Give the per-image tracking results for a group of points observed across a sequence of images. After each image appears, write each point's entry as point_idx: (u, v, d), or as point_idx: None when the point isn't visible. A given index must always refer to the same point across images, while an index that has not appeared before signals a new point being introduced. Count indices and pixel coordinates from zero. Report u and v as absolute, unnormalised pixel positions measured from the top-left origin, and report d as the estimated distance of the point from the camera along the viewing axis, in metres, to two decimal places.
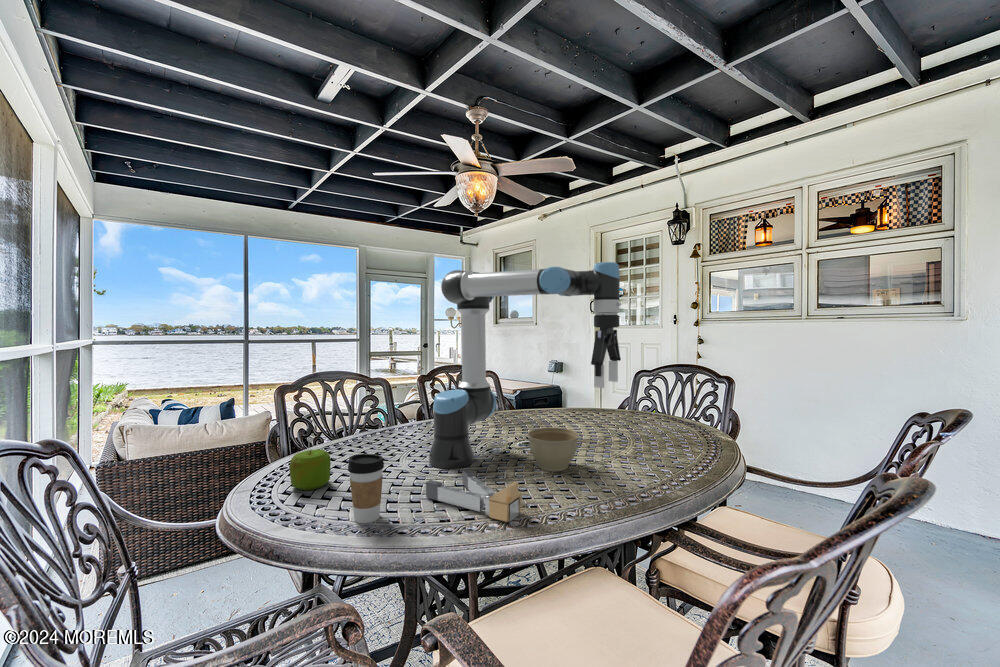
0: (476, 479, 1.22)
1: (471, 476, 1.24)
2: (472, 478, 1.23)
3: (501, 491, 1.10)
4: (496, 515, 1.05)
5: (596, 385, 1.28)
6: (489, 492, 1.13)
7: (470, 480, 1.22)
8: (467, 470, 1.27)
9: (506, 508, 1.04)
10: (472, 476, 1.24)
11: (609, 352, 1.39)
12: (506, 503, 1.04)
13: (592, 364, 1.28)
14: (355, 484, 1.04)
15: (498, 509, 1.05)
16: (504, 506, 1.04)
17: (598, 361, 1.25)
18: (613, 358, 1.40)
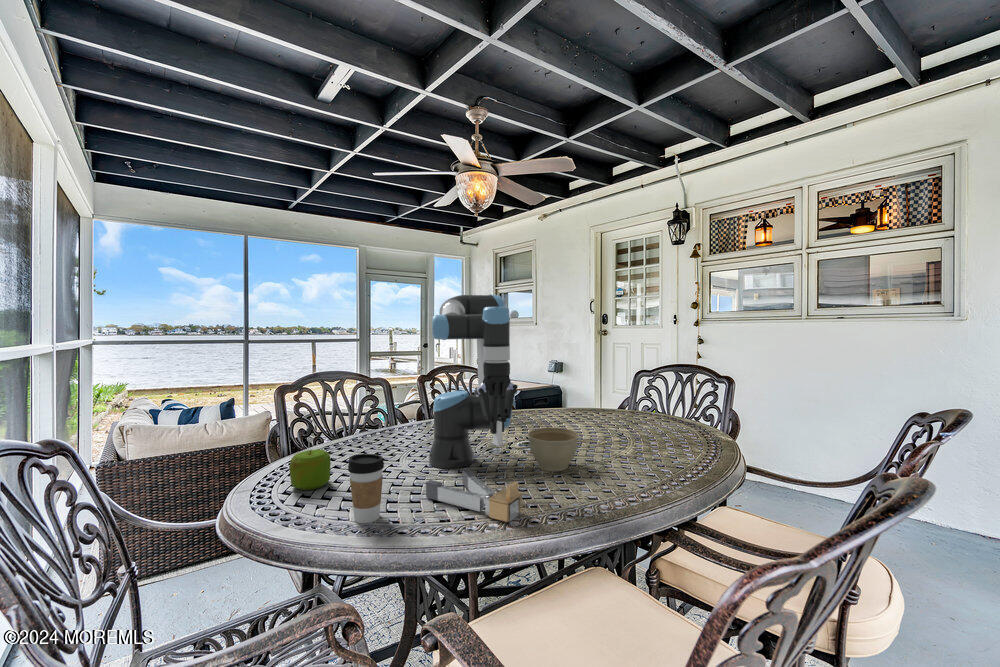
0: (476, 479, 1.22)
1: (471, 476, 1.24)
2: (472, 478, 1.23)
3: (501, 491, 1.10)
4: (496, 515, 1.05)
5: None
6: (489, 492, 1.13)
7: (470, 480, 1.22)
8: (467, 470, 1.27)
9: (506, 508, 1.04)
10: (472, 476, 1.24)
11: None
12: (506, 503, 1.04)
13: (504, 421, 1.24)
14: (355, 484, 1.04)
15: (498, 509, 1.05)
16: (504, 506, 1.04)
17: None
18: None
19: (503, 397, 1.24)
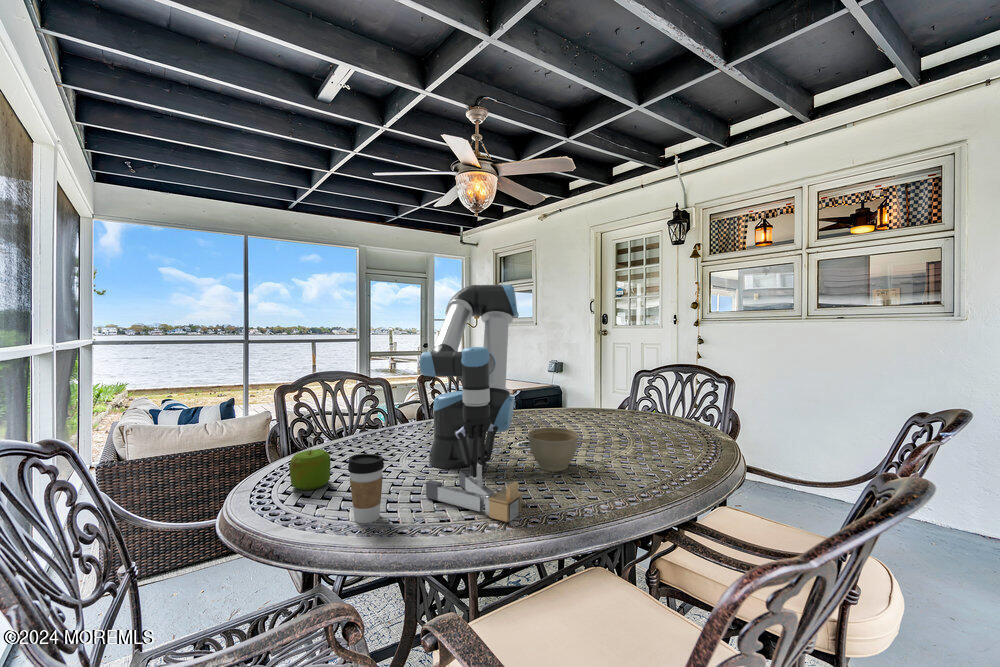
0: (474, 479, 1.21)
1: (468, 476, 1.24)
2: (469, 478, 1.22)
3: (501, 491, 1.10)
4: (496, 515, 1.05)
5: None
6: (489, 492, 1.13)
7: (468, 480, 1.22)
8: (464, 470, 1.27)
9: (506, 508, 1.04)
10: (469, 476, 1.24)
11: None
12: (506, 503, 1.04)
13: (484, 465, 1.22)
14: (355, 484, 1.04)
15: (498, 509, 1.05)
16: (504, 506, 1.04)
17: None
18: None
19: (483, 440, 1.22)
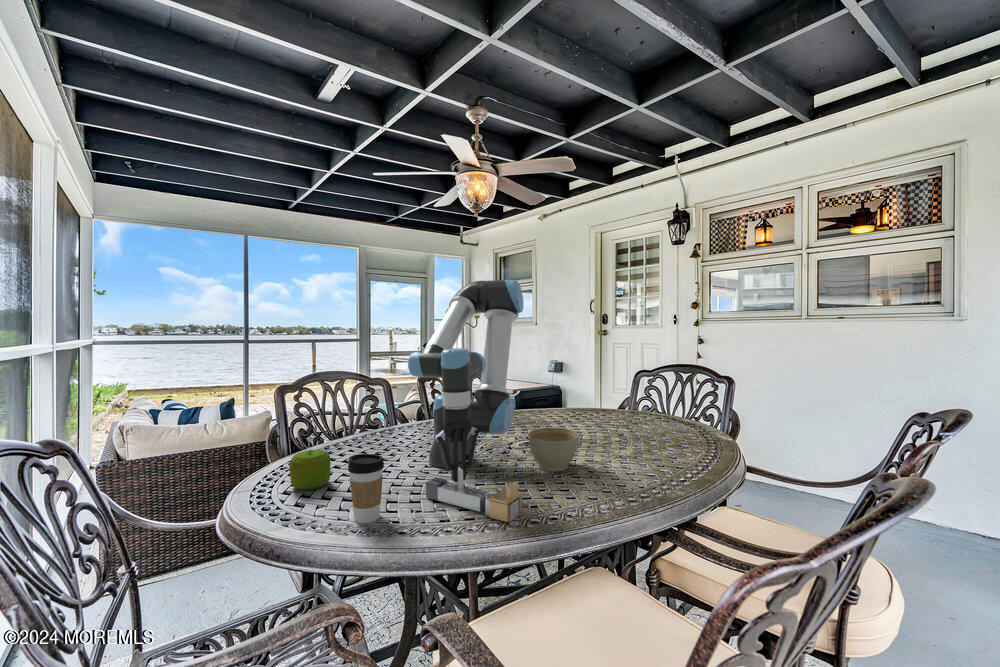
0: (455, 484, 1.18)
1: (446, 483, 1.19)
2: (449, 484, 1.18)
3: (501, 491, 1.10)
4: (496, 515, 1.05)
5: None
6: (484, 493, 1.12)
7: None
8: (437, 478, 1.21)
9: (506, 508, 1.04)
10: (447, 483, 1.19)
11: None
12: (506, 503, 1.04)
13: (465, 469, 1.19)
14: (355, 484, 1.04)
15: (498, 509, 1.05)
16: (504, 506, 1.04)
17: None
18: None
19: (464, 444, 1.18)
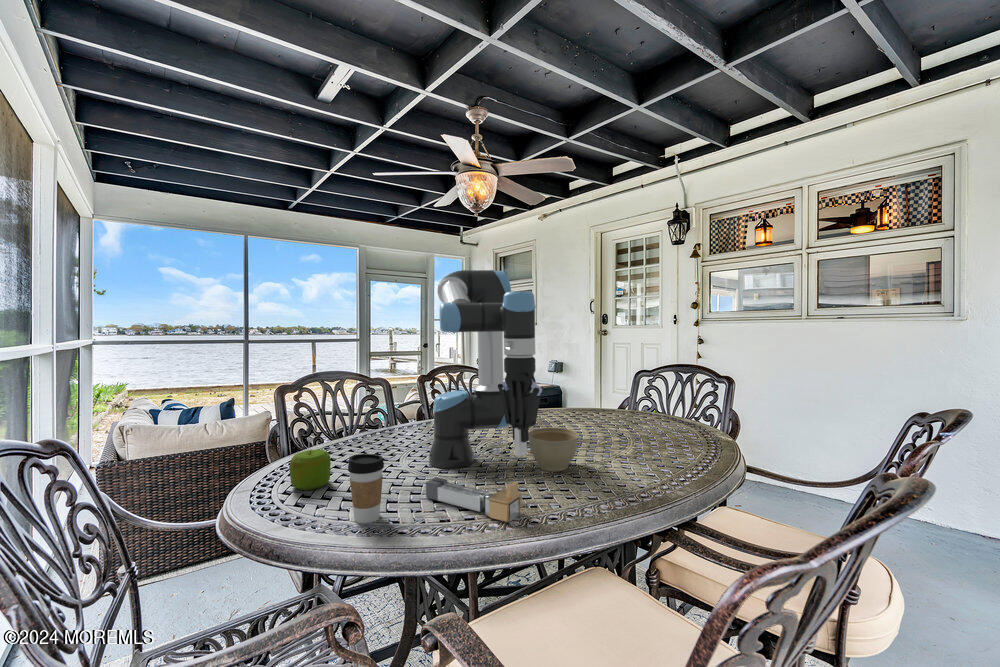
0: (455, 484, 1.18)
1: (446, 483, 1.19)
2: (449, 484, 1.18)
3: (501, 491, 1.10)
4: (496, 515, 1.05)
5: None
6: (484, 493, 1.12)
7: None
8: (437, 478, 1.21)
9: (506, 508, 1.04)
10: (447, 483, 1.19)
11: None
12: (506, 503, 1.04)
13: None
14: (355, 484, 1.04)
15: (498, 509, 1.05)
16: (504, 506, 1.04)
17: None
18: None
19: None
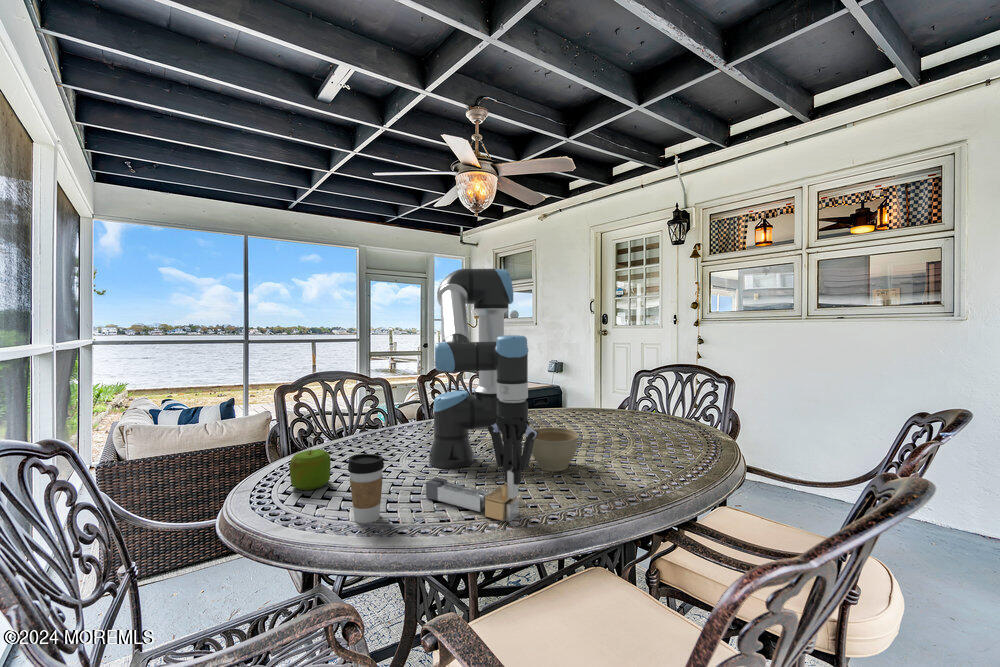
0: (455, 484, 1.18)
1: (446, 483, 1.19)
2: (449, 484, 1.18)
3: (497, 490, 1.11)
4: (492, 514, 1.06)
5: None
6: (484, 493, 1.12)
7: None
8: (437, 478, 1.21)
9: (502, 507, 1.05)
10: (447, 483, 1.19)
11: None
12: (502, 502, 1.05)
13: None
14: (355, 484, 1.04)
15: (494, 508, 1.06)
16: (500, 505, 1.05)
17: None
18: None
19: None
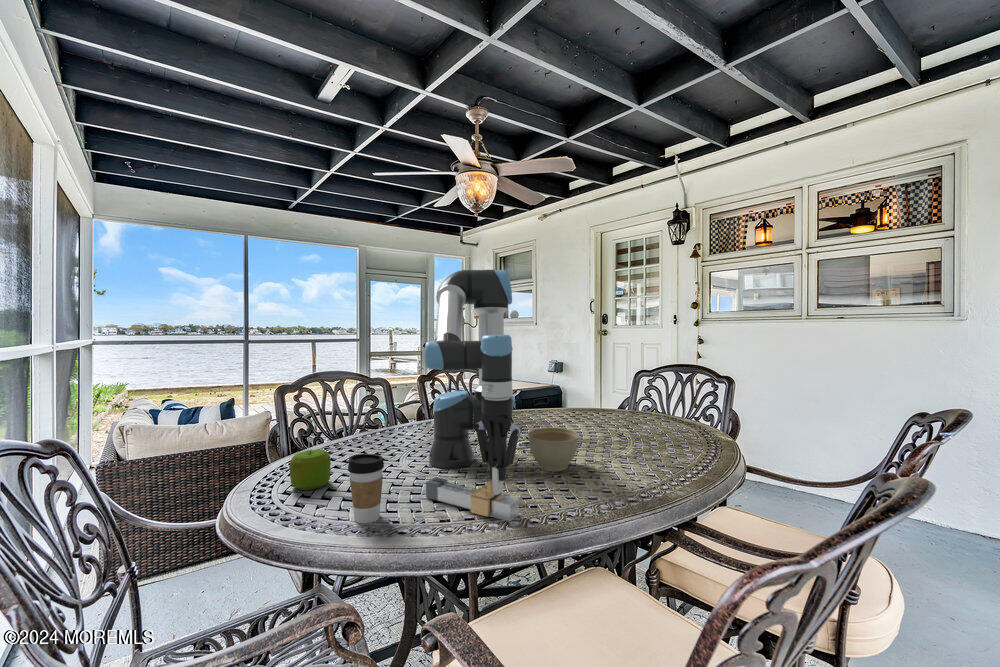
0: (455, 484, 1.18)
1: (446, 483, 1.19)
2: (449, 484, 1.18)
3: (483, 487, 1.13)
4: (477, 510, 1.08)
5: None
6: None
7: None
8: (437, 478, 1.21)
9: (487, 503, 1.07)
10: (447, 483, 1.19)
11: None
12: (487, 498, 1.07)
13: None
14: (355, 484, 1.04)
15: (479, 504, 1.08)
16: (485, 501, 1.07)
17: None
18: None
19: None
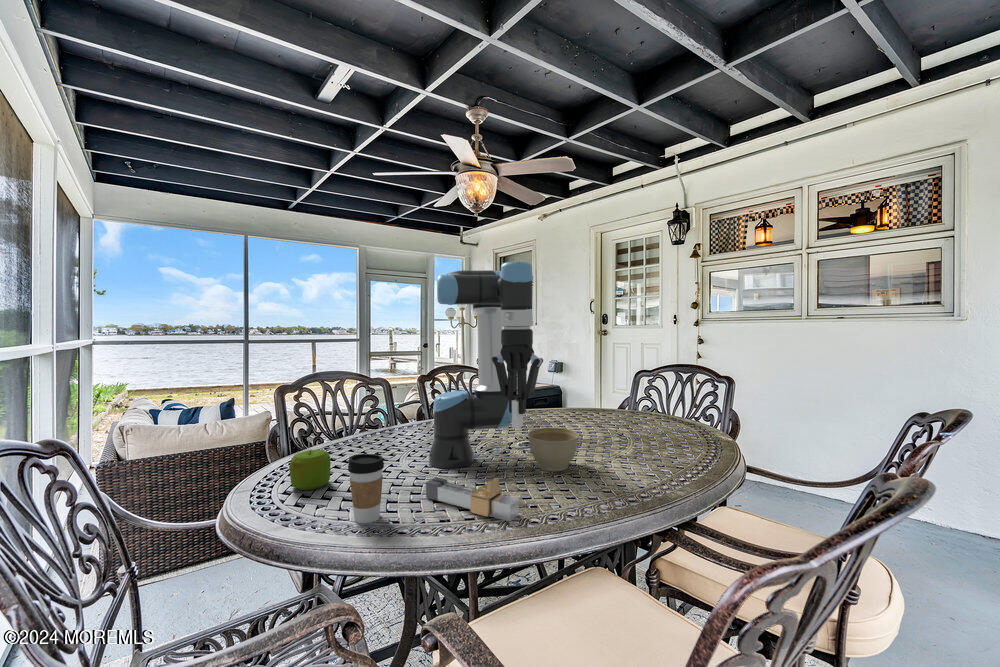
0: (455, 484, 1.18)
1: (446, 483, 1.19)
2: (449, 484, 1.18)
3: (483, 487, 1.13)
4: (477, 510, 1.08)
5: None
6: None
7: None
8: (437, 478, 1.21)
9: (486, 503, 1.07)
10: (447, 483, 1.19)
11: None
12: (486, 498, 1.07)
13: (515, 398, 1.07)
14: (355, 484, 1.04)
15: (479, 504, 1.08)
16: (485, 501, 1.07)
17: None
18: None
19: None
